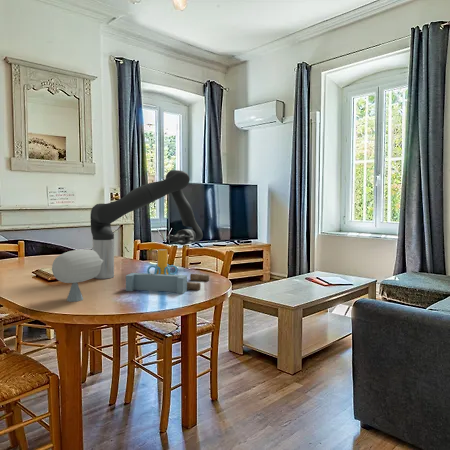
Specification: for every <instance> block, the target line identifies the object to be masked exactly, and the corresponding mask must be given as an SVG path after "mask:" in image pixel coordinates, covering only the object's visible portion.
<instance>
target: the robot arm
mask: <svg viewBox="0 0 450 450" xmlns="http://www.w3.org/2000/svg"><path fill="white" fill-rule="evenodd" d="M190 179H191V178H190V175H189V174H188V173H187V172H186V171H184V170H178V169H176V170H173V169H172V170H169V171H168V172H166V176H165V178H164V179H162V180H157V181H154V182H149V183H146V184H143V185H141V186H138V187H136V188H134V189H132V190H131V191H130V192H128V193H126V194H125V196H122V197H121V198H119V199H117V200H114V201H112V202H111V201H110V202H108V203H96V204H94V205H93V206H92V208H91V210H90V218H89V219H90V231H91V236H92V250H94V251H95V252H96V253H97V254H98V255H99V257H100V258H101V259H102V260H103V262H102V264H101V270H100V273H99V274H98V275H97V276H96V277H94V278H93V279H99V280H100V279H101V280H102V279H111V278H114V277H115V234H114V231H113V230H112V226H111V224H112V223H114V222H116V221H117V220H118V219H120V218H122V217H123V216H125V215H126V214H128V213H131V212H134V211H136V210H139V209H142V208H143V207H145V206H148V205H149V204H152V203H153V202H155V201H157V200H159V199H162V198H163V197H165V196H167V195H169V194H171V196H172V197H173V200H174V202H175V204H176V207H177V209H178V212H179V216H180V217H179V218H180V220H181V222H182V226H184V227H186V228H184V229H180V230H178V231H177V232H176V233H175V234H167V241H171V242H175V243H177V244H178V245H181V246H186V245H189V244H190V243H193V242H198V241H201V240H203V237H204V234H203V230H202V228H201V227H200V226H199V224H198V222H197V220H196V218H195V214H194V211H193V208H192V205H191V204H190V202H189V201H188V199H187V198H186V196H185V194H184V191H183V189H185V188H186V187H187V186H189V183H190ZM188 227H190V228H188Z"/></svg>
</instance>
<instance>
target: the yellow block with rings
mask: <svg viewBox="0 0 450 450" xmlns="http://www.w3.org/2000/svg"><path fill="white" fill-rule="evenodd" d="M151 268H154V272H153V274H167V275H177V273H178V267H177V266H176V265H174V264H171V265H170V264H168V249H166V248H164V249H163V248H160V249H157V263H156V264H155V265H150V266H148V267H147V269H146V270H147V272H146V273H147V274H152V273H151V272H150V269H151ZM171 268H174V270H175V271H174V272H173V273H172V272H171Z"/></svg>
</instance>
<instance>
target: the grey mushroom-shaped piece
mask: <svg viewBox="0 0 450 450" xmlns="http://www.w3.org/2000/svg"><path fill="white" fill-rule="evenodd" d="M102 262H103V260H102V259H101V258H100V257H99V255H98V254H97V253H96V252H95V251H94V250H93V249H88V248H85V249H75V250H74V249H73V250H69V251H67V252H66V251H65V252H63V253H61V254H60V255H58V256H57V257H55V259H54V260H53V262H52V264H51V271H52V272H51V273H52V274H53V277H54V278H55V279H56V280H57V281H59V282H61V283H66V284H71V286H70V290H69V292H68V294H67V295H68V296H67V298H66V302H69V303H71V302H81V301H83V300H84V297H83V294H82V291H81V288H80V286H79V284H78V283H83V282H85V281H88V280H91V279H95V278H94V277H96V276H97V275H98V274H99V273H100V270H101V264H102Z"/></svg>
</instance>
